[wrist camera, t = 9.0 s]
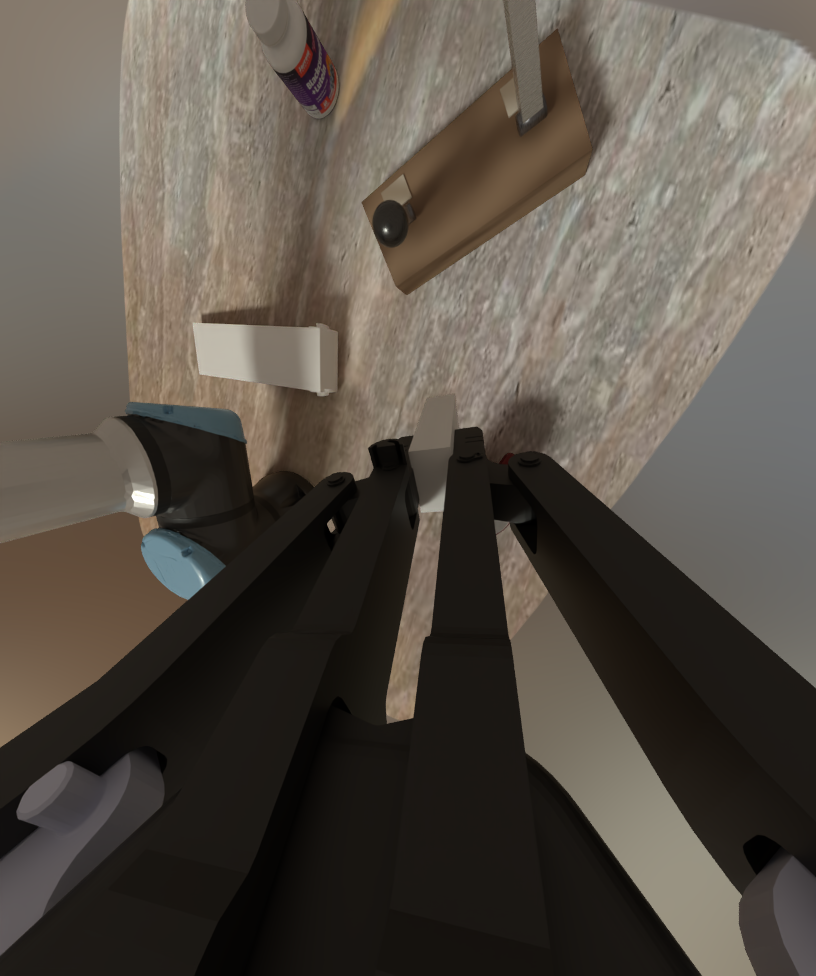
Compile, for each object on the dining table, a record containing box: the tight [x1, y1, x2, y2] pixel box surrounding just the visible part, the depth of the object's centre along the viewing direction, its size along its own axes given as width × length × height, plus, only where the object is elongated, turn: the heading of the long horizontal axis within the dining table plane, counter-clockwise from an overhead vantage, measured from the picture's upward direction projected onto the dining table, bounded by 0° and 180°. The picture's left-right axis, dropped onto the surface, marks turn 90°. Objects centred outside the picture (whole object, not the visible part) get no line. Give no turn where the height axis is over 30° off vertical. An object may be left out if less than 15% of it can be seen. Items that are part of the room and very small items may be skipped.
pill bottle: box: [245, 0, 339, 119], centre depth 33 cm, size 5×5×10 cm
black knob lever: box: [372, 200, 417, 248], centre depth 30 cm, size 3×3×13 cm
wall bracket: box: [193, 323, 338, 396], centre depth 51 cm, size 10×7×28 cm
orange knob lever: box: [503, 0, 548, 137], centre depth 24 cm, size 3×3×13 cm
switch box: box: [362, 28, 593, 295], centre depth 34 cm, size 10×22×4 cm, turn 115°
